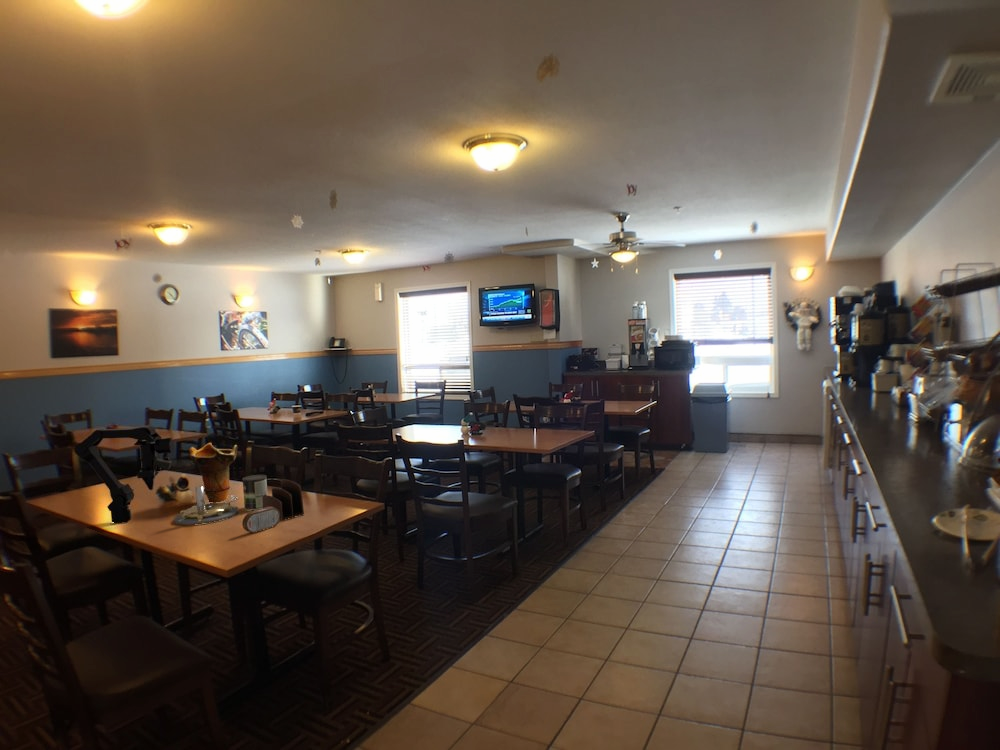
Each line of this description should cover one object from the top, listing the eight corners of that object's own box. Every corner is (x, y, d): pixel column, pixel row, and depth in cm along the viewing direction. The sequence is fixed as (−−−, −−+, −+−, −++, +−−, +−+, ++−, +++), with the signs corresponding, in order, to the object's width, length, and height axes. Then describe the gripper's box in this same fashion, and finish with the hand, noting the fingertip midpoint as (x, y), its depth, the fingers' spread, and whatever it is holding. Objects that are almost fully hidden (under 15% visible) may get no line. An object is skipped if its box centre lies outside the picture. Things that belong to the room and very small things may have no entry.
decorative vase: (227, 506, 274) (220, 446, 272) (183, 508, 278) (175, 449, 277) (253, 494, 294) (247, 438, 293) (212, 496, 298) (205, 441, 297)
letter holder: (284, 507, 269) (282, 476, 268) (304, 515, 255) (302, 483, 254) (262, 512, 262) (260, 481, 261) (281, 521, 248) (279, 488, 247)
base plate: (170, 529, 244) (170, 524, 244) (179, 513, 267) (178, 509, 267) (236, 519, 253) (236, 515, 253) (239, 505, 276) (239, 501, 276)
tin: (278, 524, 244) (276, 503, 243) (282, 525, 242) (280, 505, 241) (242, 534, 232) (241, 513, 232) (246, 536, 230) (245, 514, 230)
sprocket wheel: (188, 508, 268) (186, 479, 267) (237, 503, 272) (235, 475, 271) (173, 521, 248) (170, 490, 247) (226, 516, 252) (223, 486, 251)
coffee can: (243, 512, 264) (241, 481, 263) (245, 506, 273) (242, 476, 273) (268, 508, 267) (266, 478, 267) (268, 503, 277) (266, 473, 276)
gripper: (165, 456, 252) (168, 492, 253) (172, 449, 270) (175, 482, 271) (135, 459, 248) (138, 495, 249) (144, 451, 266) (147, 486, 267)
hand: (151, 489), depth 259 cm, fingers closed
